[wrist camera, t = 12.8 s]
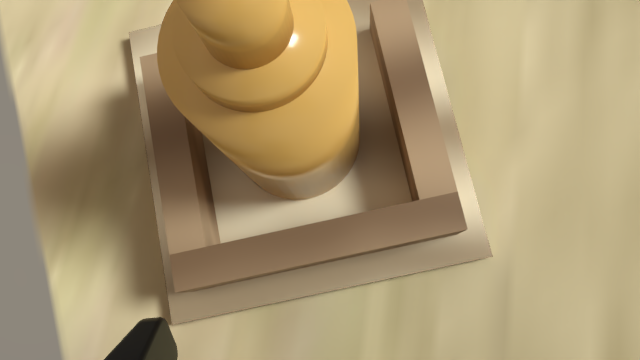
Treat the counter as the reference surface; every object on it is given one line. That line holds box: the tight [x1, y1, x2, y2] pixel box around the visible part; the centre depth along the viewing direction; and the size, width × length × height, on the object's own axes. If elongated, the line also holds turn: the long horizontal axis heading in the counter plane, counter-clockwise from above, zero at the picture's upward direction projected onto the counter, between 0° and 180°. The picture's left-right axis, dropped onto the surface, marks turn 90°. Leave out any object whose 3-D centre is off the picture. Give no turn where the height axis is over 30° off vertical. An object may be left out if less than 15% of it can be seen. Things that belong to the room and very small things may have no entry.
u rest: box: [129, 0, 493, 325], centre depth 23 cm, size 14×14×3 cm
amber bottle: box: [157, 0, 360, 200], centre depth 18 cm, size 6×6×13 cm
